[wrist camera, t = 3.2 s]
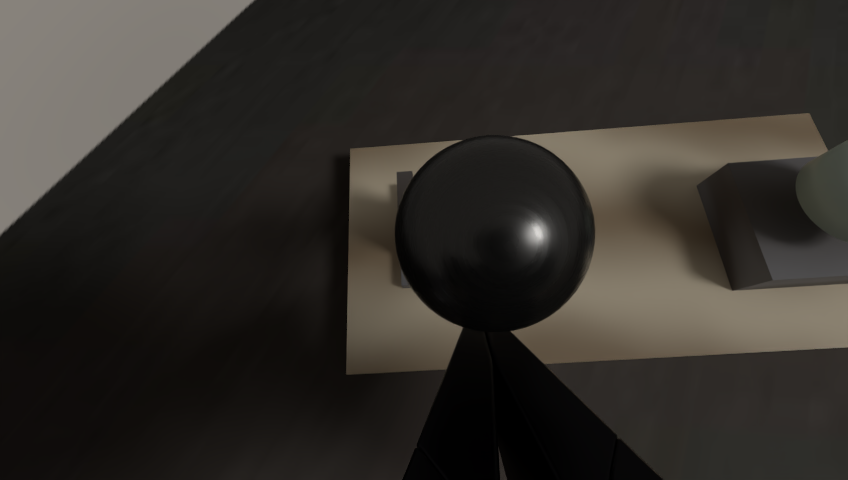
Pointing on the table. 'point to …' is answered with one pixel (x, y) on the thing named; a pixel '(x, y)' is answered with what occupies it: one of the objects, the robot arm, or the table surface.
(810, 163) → the push button
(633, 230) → the switch board
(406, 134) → the table surface
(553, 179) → the toggle lever
